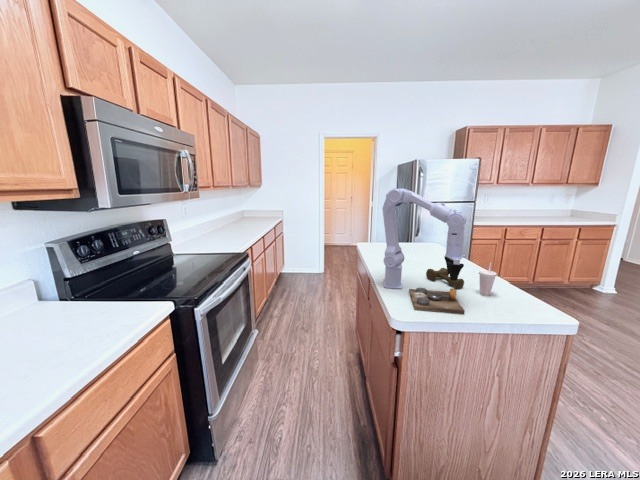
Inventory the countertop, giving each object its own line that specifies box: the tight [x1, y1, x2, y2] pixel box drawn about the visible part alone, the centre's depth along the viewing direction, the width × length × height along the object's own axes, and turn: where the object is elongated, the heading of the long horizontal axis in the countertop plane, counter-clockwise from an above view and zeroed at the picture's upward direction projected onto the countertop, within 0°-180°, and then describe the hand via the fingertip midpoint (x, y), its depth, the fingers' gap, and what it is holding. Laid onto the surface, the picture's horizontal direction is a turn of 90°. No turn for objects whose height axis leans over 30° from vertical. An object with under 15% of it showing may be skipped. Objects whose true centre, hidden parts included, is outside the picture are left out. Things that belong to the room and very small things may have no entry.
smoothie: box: [478, 262, 498, 297], centre depth 110 cm, size 6×6×14 cm
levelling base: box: [408, 287, 466, 315], centre depth 103 cm, size 17×17×3 cm
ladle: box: [428, 288, 458, 301], centre depth 102 cm, size 10×5×4 cm, turn 78°
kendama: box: [425, 267, 465, 290], centre depth 125 cm, size 6×10×20 cm
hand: (452, 277), depth 104 cm, fingers open, 7 cm apart
